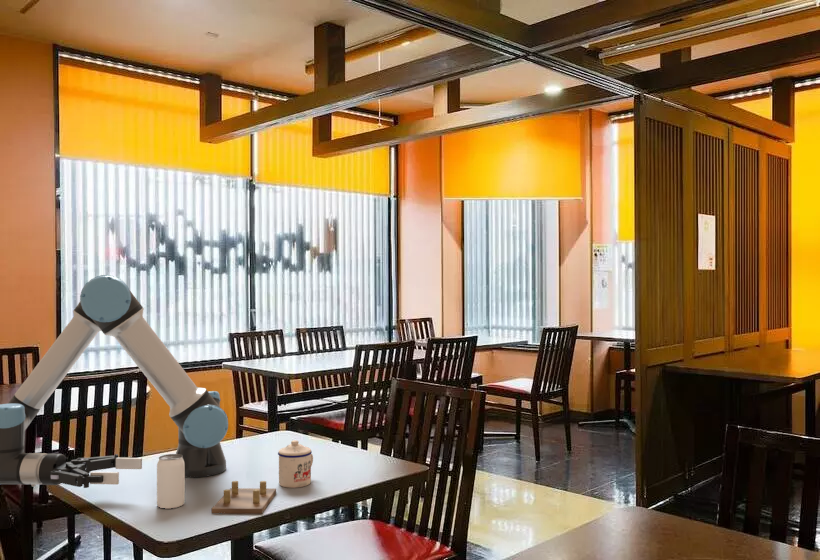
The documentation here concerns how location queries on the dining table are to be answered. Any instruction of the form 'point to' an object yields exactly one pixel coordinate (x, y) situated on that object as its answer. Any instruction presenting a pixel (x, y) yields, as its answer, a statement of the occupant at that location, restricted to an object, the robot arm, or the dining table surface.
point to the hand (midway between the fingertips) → (130, 470)
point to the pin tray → (244, 500)
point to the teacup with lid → (295, 465)
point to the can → (170, 481)
